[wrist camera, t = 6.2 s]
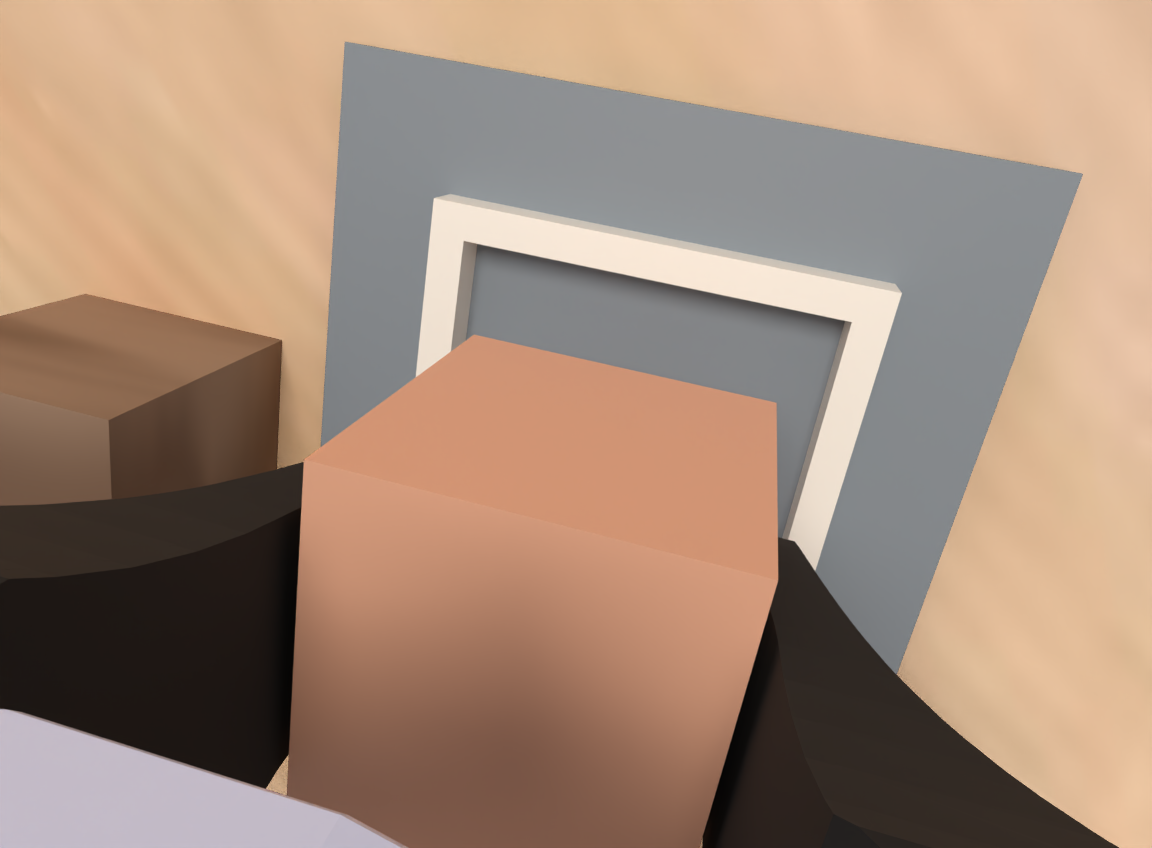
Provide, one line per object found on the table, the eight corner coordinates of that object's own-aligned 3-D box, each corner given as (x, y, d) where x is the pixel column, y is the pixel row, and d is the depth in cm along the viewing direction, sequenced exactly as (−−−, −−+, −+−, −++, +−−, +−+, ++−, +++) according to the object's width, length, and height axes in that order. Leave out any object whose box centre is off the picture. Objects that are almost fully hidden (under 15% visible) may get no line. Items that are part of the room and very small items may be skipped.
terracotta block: (706, 662, 14) (672, 938, 9) (442, 590, 14) (286, 814, 10) (776, 402, 12) (779, 580, 7) (474, 334, 13) (304, 459, 8)
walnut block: (275, 531, 19) (118, 664, 14) (96, 483, 20) (-110, 596, 15) (283, 339, 17) (108, 419, 13) (87, 293, 18) (-147, 354, 13)
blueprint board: (854, 764, 18) (860, 810, 17) (320, 614, 19) (291, 647, 18) (1073, 171, 13) (1101, 177, 12) (358, 44, 15) (322, 37, 14)
